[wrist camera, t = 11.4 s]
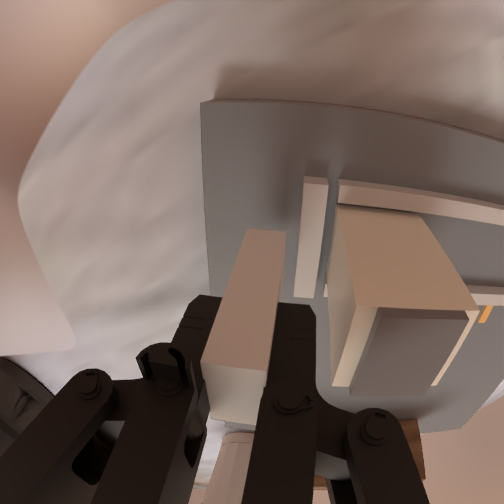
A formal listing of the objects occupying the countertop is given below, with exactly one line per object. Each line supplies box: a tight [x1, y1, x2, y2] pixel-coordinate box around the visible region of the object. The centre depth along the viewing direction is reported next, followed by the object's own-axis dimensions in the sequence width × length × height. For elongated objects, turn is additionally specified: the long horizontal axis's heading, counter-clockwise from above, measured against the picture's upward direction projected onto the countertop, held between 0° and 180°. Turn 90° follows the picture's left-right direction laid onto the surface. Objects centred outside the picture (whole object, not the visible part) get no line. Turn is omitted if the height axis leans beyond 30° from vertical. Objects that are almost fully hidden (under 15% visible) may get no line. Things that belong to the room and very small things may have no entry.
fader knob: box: [326, 204, 480, 397], centre depth 11 cm, size 4×4×7 cm
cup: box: [202, 432, 254, 504], centre depth 26 cm, size 8×8×12 cm
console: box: [200, 99, 504, 433], centre depth 15 cm, size 24×26×10 cm
